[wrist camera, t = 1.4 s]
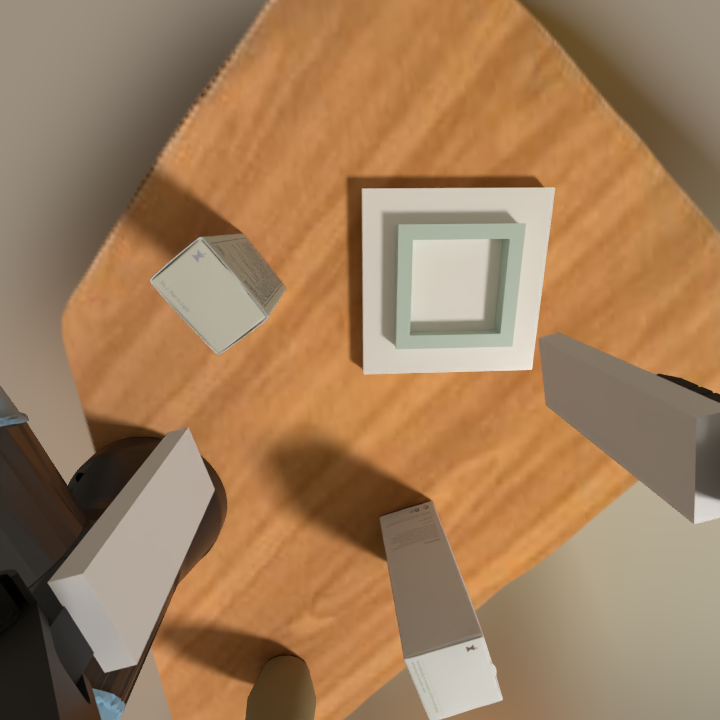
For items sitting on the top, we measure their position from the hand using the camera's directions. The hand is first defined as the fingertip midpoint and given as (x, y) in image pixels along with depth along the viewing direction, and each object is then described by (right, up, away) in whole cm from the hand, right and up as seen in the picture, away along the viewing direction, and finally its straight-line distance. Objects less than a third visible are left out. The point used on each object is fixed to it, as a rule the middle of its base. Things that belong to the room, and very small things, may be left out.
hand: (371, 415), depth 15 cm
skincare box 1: (-10, +10, +21) cm, 25 cm away
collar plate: (+8, +9, +22) cm, 25 cm away
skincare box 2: (+6, -18, +31) cm, 36 cm away
